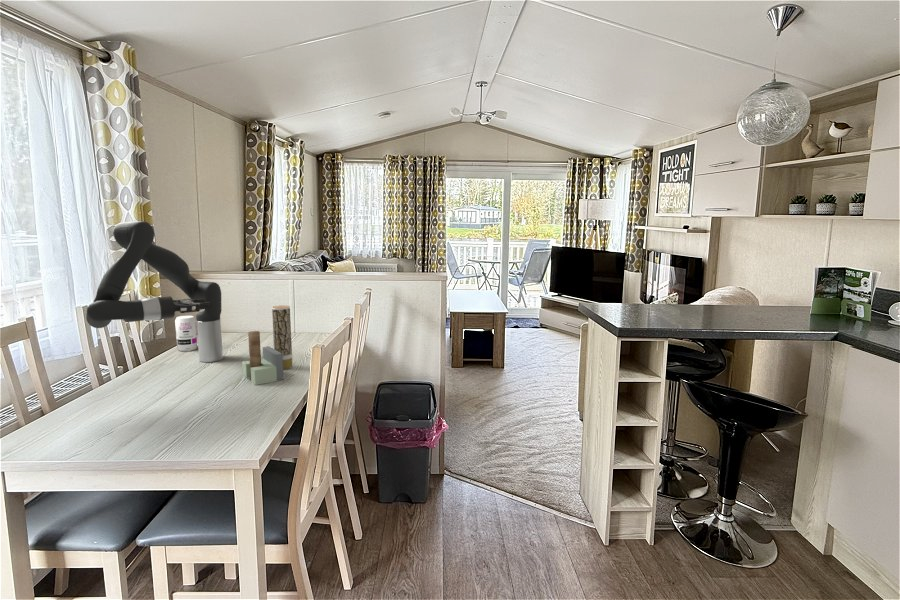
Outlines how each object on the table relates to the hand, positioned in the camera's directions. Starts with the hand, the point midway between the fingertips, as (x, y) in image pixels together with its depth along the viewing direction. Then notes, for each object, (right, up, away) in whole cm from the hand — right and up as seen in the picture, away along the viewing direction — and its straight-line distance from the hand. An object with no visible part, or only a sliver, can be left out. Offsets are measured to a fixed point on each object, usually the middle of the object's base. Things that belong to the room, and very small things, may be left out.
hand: (208, 303), depth 190 cm
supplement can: (-33, -21, +52) cm, 65 cm away
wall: (+19, -28, +15) cm, 37 cm away
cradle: (+15, -28, +12) cm, 34 cm away
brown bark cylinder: (+19, -26, +25) cm, 41 cm away
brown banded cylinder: (+13, -28, +11) cm, 33 cm away
